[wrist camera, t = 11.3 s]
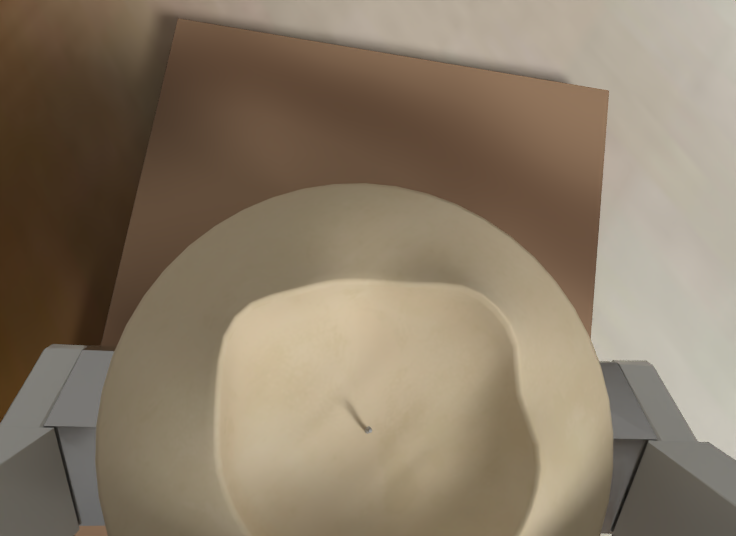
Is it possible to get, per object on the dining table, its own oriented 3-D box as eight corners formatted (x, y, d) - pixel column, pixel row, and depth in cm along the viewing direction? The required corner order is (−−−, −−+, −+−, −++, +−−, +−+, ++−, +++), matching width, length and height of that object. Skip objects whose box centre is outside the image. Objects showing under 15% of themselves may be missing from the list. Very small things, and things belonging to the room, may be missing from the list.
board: (528, 907, 16) (549, 956, 14) (2, 837, 15) (-31, 881, 14) (592, 109, 20) (613, 85, 19) (186, 42, 20) (175, 12, 18)
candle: (160, 419, 15) (-105, 426, 6) (339, 255, 16) (380, 20, 7) (331, 607, 15) (366, 981, 5) (504, 424, 16) (808, 439, 6)
